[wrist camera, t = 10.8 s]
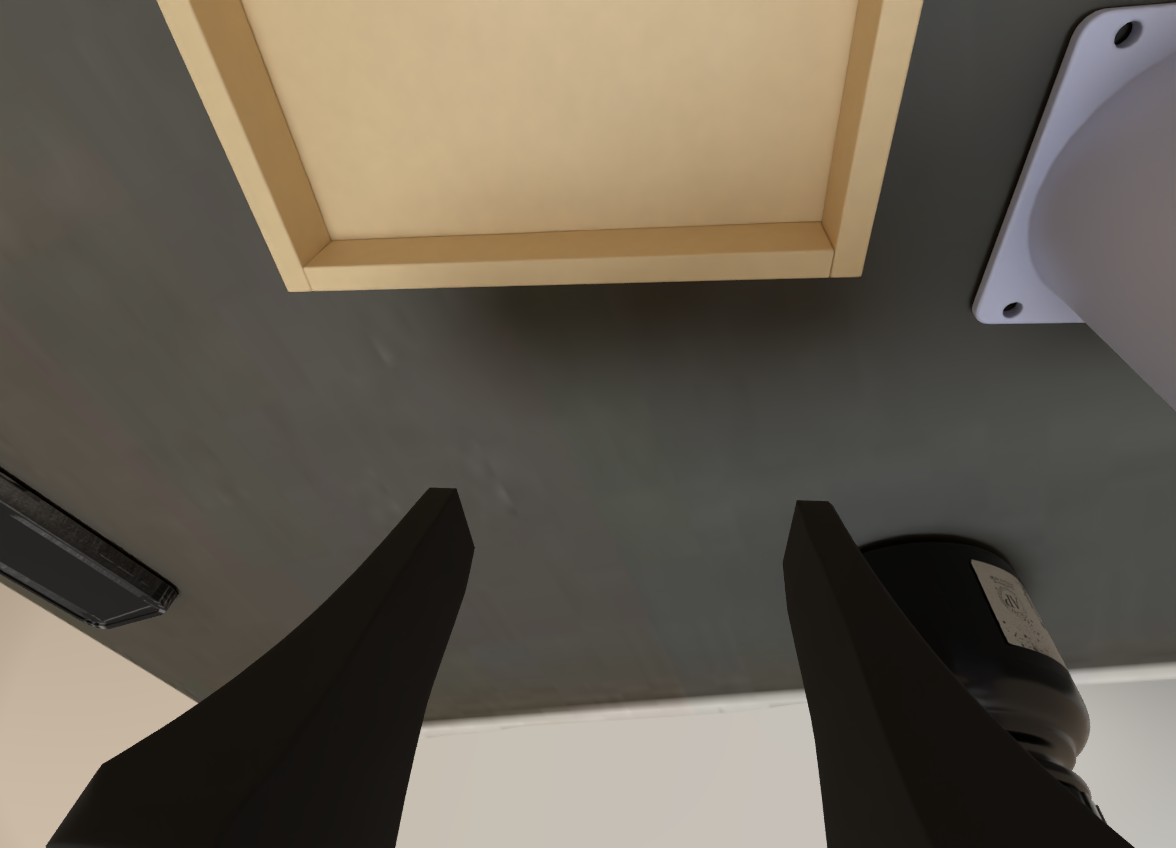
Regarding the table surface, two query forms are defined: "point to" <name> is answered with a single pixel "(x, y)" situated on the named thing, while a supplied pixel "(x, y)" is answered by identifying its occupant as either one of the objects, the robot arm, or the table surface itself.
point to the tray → (553, 135)
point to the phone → (73, 564)
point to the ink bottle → (992, 646)
